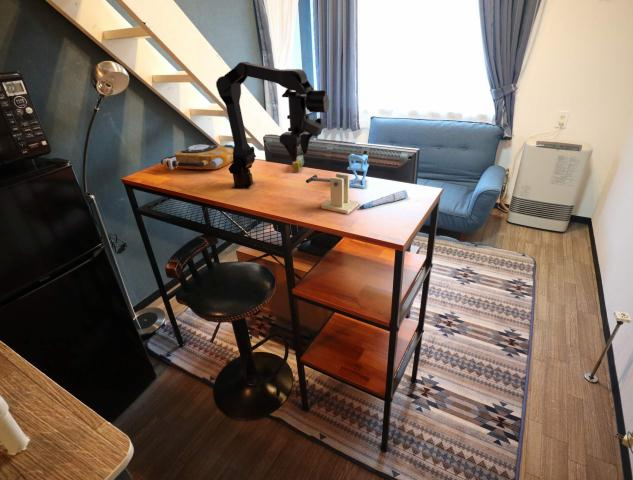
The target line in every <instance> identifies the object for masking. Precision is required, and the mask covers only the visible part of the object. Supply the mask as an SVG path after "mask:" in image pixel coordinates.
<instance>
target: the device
mask: <svg viewBox="0 0 633 480" xmlns="http://www.w3.org/2000/svg"><path fill="white" fill-rule="evenodd" d="M233 149H234V144H224V145H219V144H210V145H209V144H194V145H190V146H189V147H187V148H184V149H182V150H180V151H178V152H176V153H174V155H172V156H171V155H170V156H166V157H165V158H162V159H160V165H162V166H163V167H165V168H167V169H169V170H175V169H176V168H177V169H185V170H186V169H187V170H217V169H220V168H223V167H225V166H227V165H229V164H231V163H233Z"/></svg>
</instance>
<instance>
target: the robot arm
mask: <svg viewBox="0 0 633 480" xmlns="http://www.w3.org/2000/svg"><path fill="white" fill-rule="evenodd" d="M248 77H249V78H253V79H258V80H263V81H267V82H271V83H276V84H278V85H279V86H281V87H282V88H285V90H284V93H283V94H282V95H281V97H282V98H287V99H288V112H289V113H288V115H287V116H286V117H287V118H286V119H287V120H289V127H288V128H287V131H285V132H283V133H281V134H280V135H279V137H278V139H279V143H280V144H281V145H282V146H284V148H285V150H286V151H287V153H288V155H289V156H290V158H291V160H292V162H294V161H295V162H296V160H297V156H298V147H299V146H300V148H301V150H302V153H303V155H307V154H308V149H309V145H310V140H311V138H312V137H319V136H320V135H321V134H322V132H323V129H325V126H324V125H325V124H324V121H323V118H321V117H318V118H316V119H312V118H310V114H309V113H324V114H325V113H329V112H328V111H329V108H330V99H329V95H328V90H327V89H318V90H317V89H314V87H313V86H312V84H311V83H310V81H309V79H308V76H307V74H306V72H305V71H304V69H301V68H292V69H291V68H287V69H280V68H276V67H272V66H265V65H260V64H256V63H251V62H249V61H241V62H238V63H237V64H236V65H235V66H234V68H232V69H230V70H229V71H228V72H226V73H225V74H224V75H221V76H219V77H218V78H217V80H216V81H215V87H216V90H217V92H218V93H217V94H218V95H219V97H220V99H221V100H222V102H223V103H224V104H225V108H226V112H227V117H228V123H229V127H230V132H231V136H232V141H233V146H234V149H233V162H231V163H230V166H229V167H228V168H227V169H228V171H229V174H231V175H232V179H233V185H232V188H233V189H250V187H251V186H252V185H253V184H254V179H253V173H252V172H251V168H252V167H253V164H254V163H255V161H256V157H257V155H256V154H255V147H254V146H250V144H249V143H248V140H247V139H248V138H247V134H246V130H245V124H244V120H243V114H242V108H241V105H240V103H241V102H240V100H241V96H242V85H243V83H245V81H246V80H247V79H248ZM307 111H308V112H309V113H307Z"/></svg>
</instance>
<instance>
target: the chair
mask: <svg viewBox="0 0 633 480" xmlns="http://www.w3.org/2000/svg"><path fill="white" fill-rule="evenodd" d="M368 158H369V155H367V154H363V155H359V154H355V153H350V154H349V155H348V157H347V160H348V163H349V165H348V166H347V168H346V170H347V171H352V172H353V173H352V174H354V177H355V178H353V179H351V180H349V188H358V189H365V188H366V175H367V172H368V170H369V169H368V168H369V167H370V164H369V163H368ZM357 171H358V172H363V175H362V178H361V184H355V183H356V182H358V181H359V180H360V179H359V178H360V177H359V176H358V173H357Z"/></svg>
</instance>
